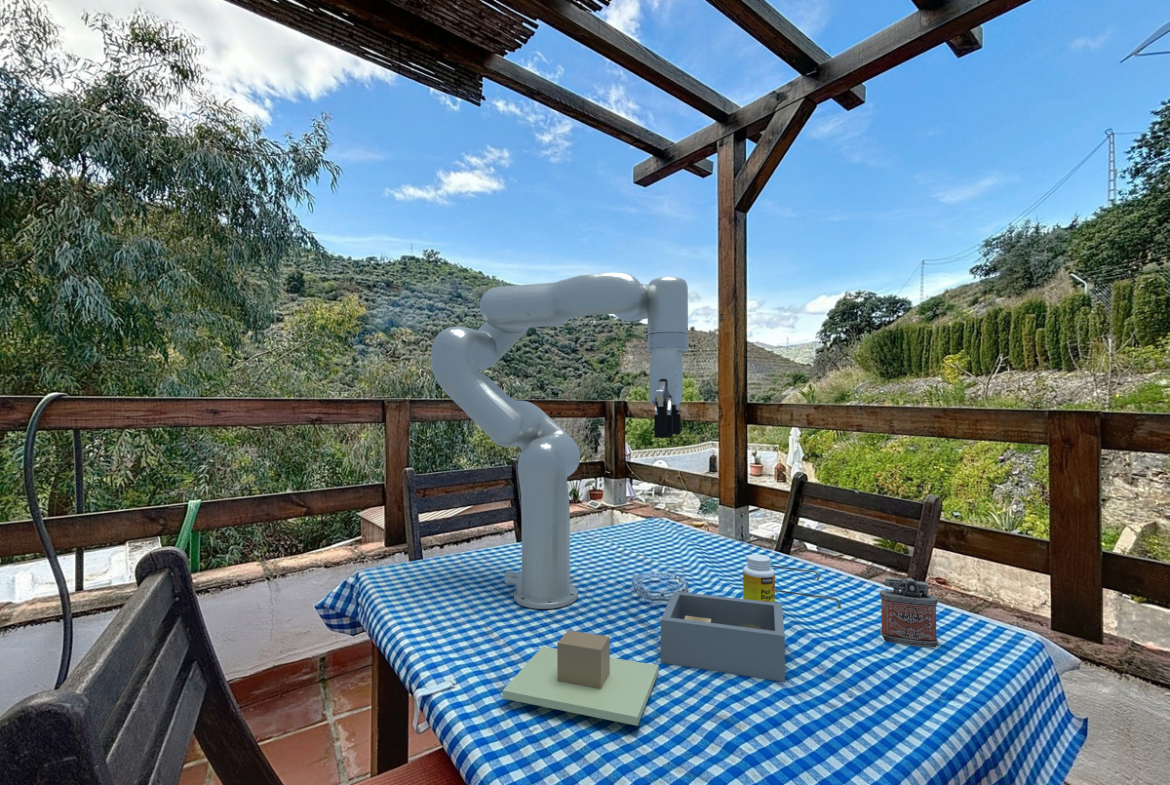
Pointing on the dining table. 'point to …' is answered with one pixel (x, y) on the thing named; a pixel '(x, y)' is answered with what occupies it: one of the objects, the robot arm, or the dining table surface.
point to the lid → (585, 680)
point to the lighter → (908, 613)
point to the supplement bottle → (759, 579)
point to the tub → (724, 635)
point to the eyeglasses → (807, 594)
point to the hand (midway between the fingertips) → (668, 435)
